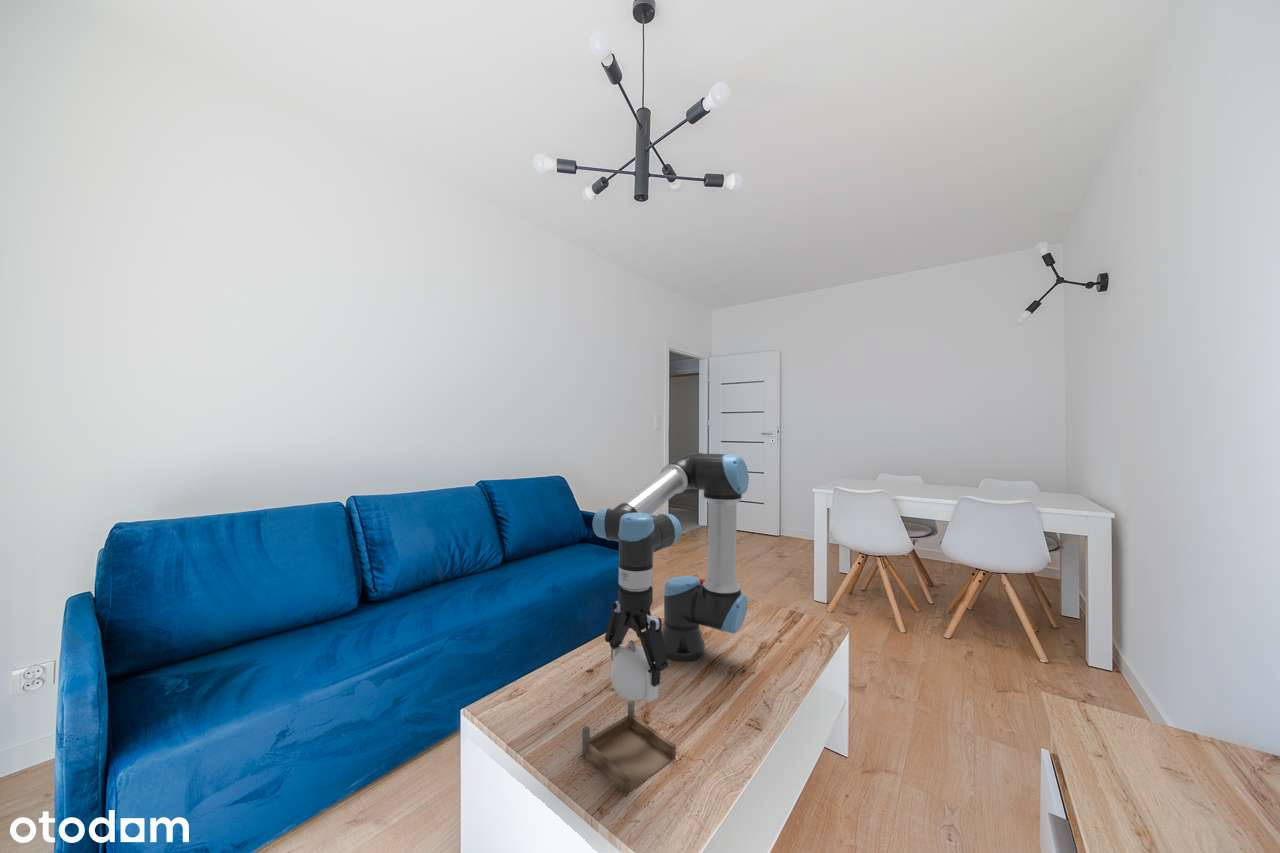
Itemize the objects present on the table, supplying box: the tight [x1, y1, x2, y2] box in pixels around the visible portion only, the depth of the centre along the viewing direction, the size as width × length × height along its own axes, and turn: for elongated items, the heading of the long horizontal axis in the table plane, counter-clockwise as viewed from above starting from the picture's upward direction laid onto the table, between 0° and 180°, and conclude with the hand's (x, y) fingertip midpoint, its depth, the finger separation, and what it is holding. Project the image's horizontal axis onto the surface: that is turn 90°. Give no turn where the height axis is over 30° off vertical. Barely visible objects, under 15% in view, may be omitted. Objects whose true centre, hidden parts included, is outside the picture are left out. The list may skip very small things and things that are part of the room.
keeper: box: [581, 700, 677, 796], centre depth 95 cm, size 15×15×6 cm
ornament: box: [610, 640, 655, 702], centre depth 94 cm, size 10×10×12 cm
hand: (634, 687), depth 94 cm, fingers closed on ornament, 10 cm apart
